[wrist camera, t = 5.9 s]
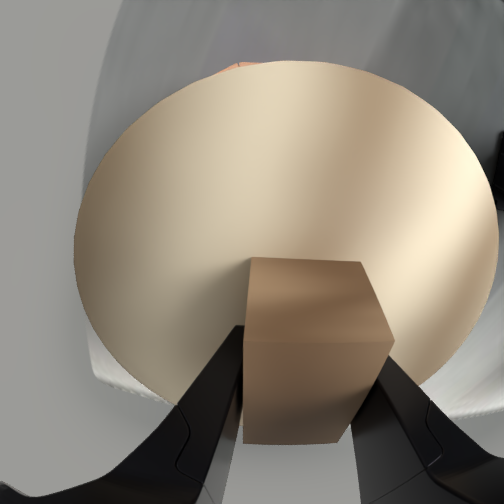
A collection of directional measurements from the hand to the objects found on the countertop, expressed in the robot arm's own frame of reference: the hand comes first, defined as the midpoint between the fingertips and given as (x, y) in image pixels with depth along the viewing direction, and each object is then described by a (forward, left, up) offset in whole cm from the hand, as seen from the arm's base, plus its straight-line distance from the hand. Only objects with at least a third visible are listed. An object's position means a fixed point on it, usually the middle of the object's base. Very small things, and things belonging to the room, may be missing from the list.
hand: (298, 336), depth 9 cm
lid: (0, 0, -1) cm, 1 cm away
